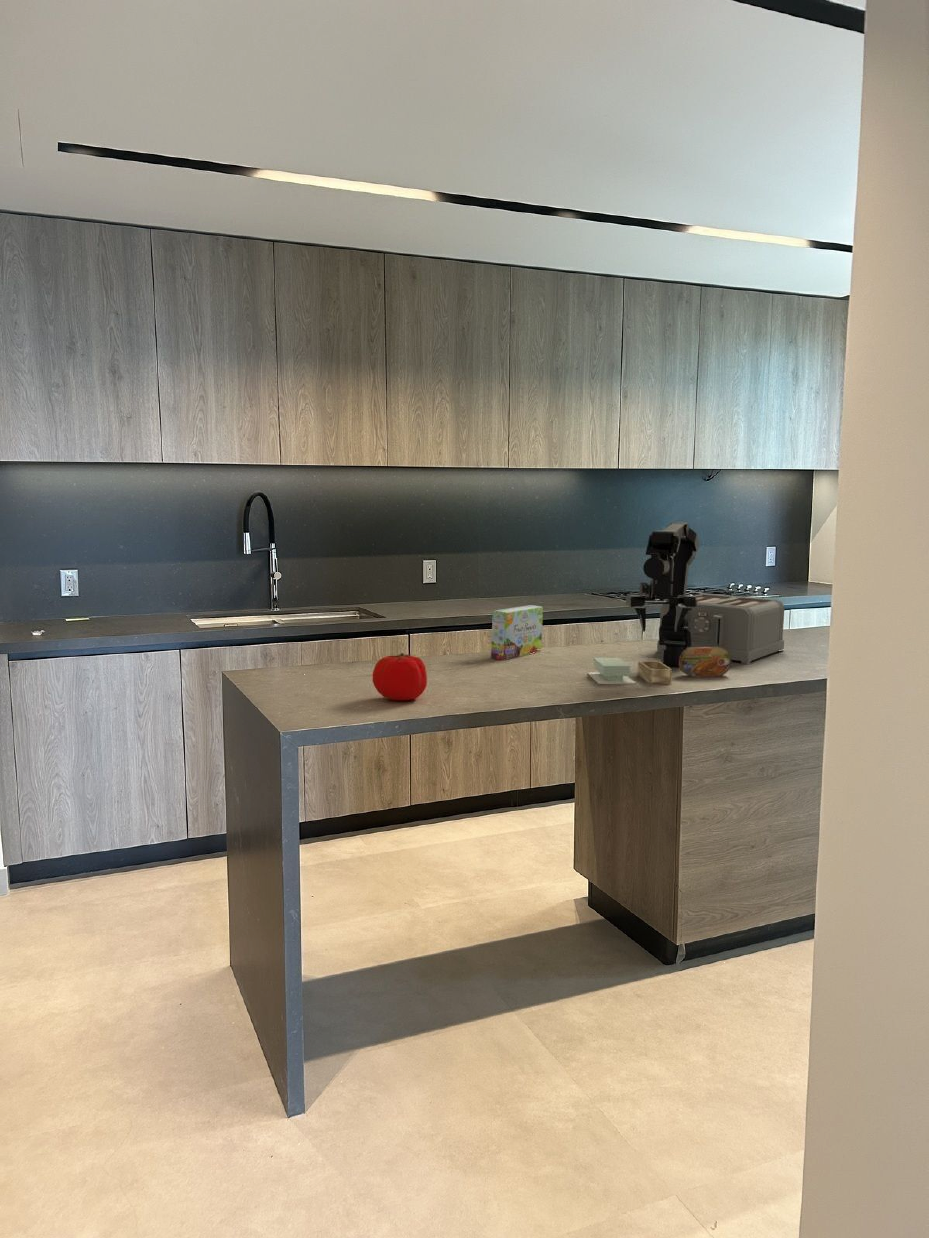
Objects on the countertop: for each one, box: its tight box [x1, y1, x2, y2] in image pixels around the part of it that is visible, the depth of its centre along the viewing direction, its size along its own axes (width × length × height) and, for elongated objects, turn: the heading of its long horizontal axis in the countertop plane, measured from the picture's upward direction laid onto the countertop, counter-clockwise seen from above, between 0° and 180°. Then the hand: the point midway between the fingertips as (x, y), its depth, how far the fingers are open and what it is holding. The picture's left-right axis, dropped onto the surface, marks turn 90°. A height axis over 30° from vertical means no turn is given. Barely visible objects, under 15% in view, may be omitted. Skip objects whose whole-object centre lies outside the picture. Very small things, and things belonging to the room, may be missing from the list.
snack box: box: [490, 604, 544, 661], centre depth 291 cm, size 21×6×15 cm, turn 143°
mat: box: [587, 671, 636, 685], centre depth 257 cm, size 10×14×1 cm
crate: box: [637, 660, 673, 685], centre depth 257 cm, size 6×12×4 cm, turn 5°
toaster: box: [656, 593, 785, 664], centre depth 301 cm, size 31×36×17 cm
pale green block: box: [592, 657, 631, 681], centre depth 257 cm, size 7×12×4 cm, turn 5°
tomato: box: [372, 652, 428, 702], centre depth 227 cm, size 12×13×12 cm
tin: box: [678, 647, 732, 678], centre depth 263 cm, size 15×3×8 cm, turn 99°
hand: (659, 631), depth 258 cm, fingers open, 9 cm apart
